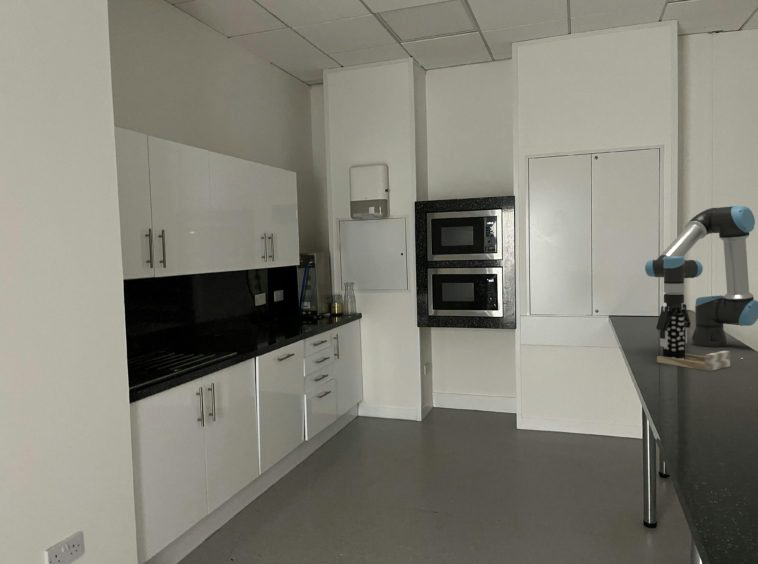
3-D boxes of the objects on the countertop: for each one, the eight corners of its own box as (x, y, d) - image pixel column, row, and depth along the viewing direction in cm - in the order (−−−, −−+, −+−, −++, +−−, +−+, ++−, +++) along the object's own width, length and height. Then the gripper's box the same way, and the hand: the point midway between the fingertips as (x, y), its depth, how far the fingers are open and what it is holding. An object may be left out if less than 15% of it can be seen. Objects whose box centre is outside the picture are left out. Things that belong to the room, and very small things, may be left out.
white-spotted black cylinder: (662, 362, 245) (662, 314, 243) (663, 359, 252) (663, 312, 251) (685, 363, 241) (685, 314, 239) (685, 360, 248) (685, 312, 247)
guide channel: (677, 358, 252) (677, 344, 252) (730, 366, 234) (730, 351, 233) (657, 362, 245) (656, 348, 245) (710, 371, 226) (710, 355, 226)
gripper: (682, 291, 254) (682, 340, 255) (646, 295, 241) (646, 346, 243) (700, 292, 248) (699, 342, 249) (664, 296, 235) (664, 349, 236)
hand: (673, 344), depth 246 cm, fingers open, 13 cm apart
